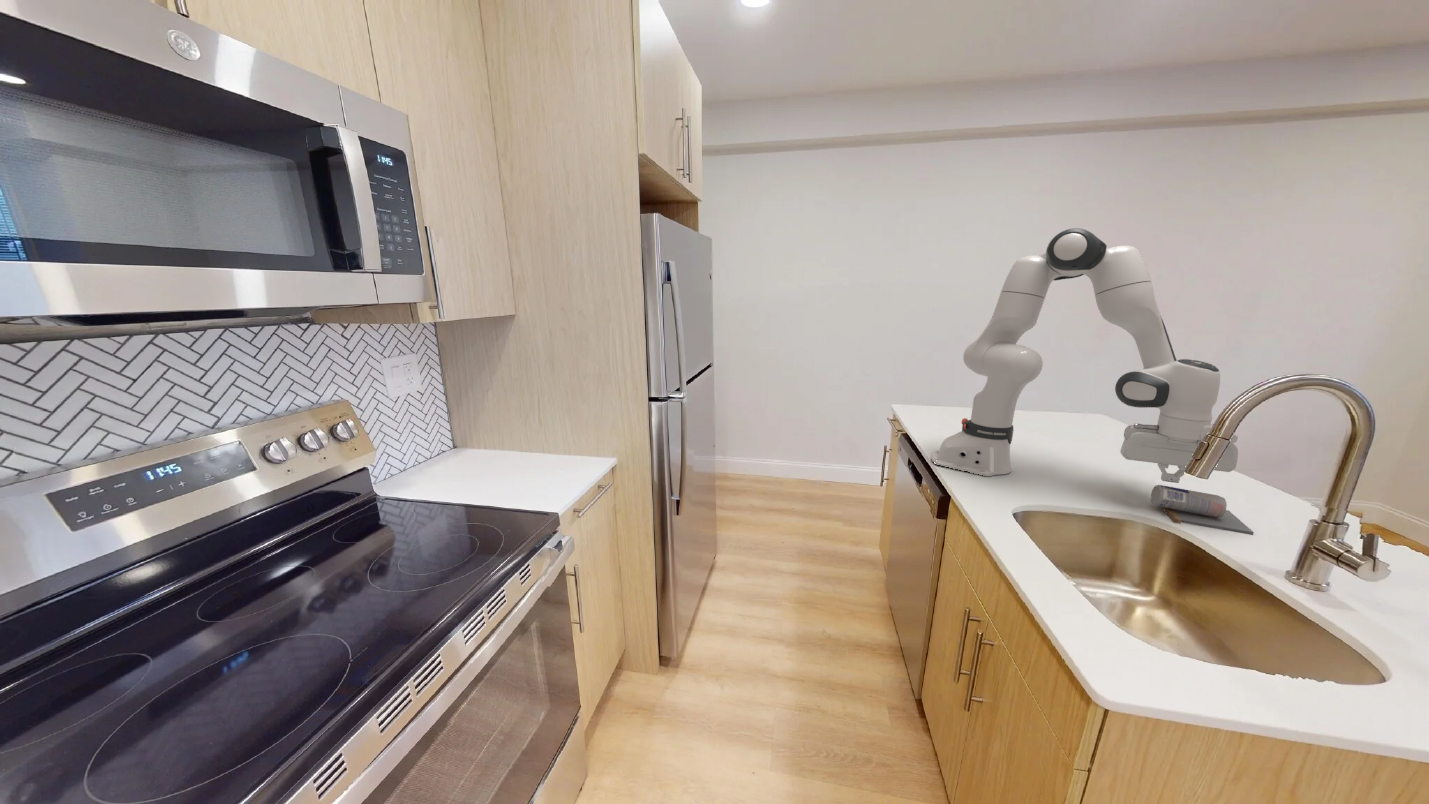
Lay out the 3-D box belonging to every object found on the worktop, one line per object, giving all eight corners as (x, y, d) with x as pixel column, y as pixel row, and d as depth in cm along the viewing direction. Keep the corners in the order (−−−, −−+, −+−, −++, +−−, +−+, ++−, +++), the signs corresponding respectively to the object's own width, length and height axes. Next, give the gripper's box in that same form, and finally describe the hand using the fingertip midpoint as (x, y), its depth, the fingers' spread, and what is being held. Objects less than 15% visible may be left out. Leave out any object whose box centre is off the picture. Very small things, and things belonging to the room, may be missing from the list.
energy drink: (1148, 493, 119) (1211, 504, 114) (1152, 509, 116) (1217, 522, 111) (1157, 480, 116) (1223, 491, 110) (1162, 496, 112) (1229, 509, 107)
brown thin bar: (1174, 522, 110) (1175, 518, 110) (1154, 499, 122) (1155, 496, 121) (1180, 523, 109) (1181, 520, 109) (1160, 500, 121) (1161, 497, 121)
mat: (1181, 522, 110) (1182, 520, 110) (1163, 502, 120) (1164, 500, 120) (1253, 534, 104) (1253, 532, 104) (1228, 512, 114) (1228, 510, 114)
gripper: (1130, 425, 113) (1118, 478, 116) (1248, 437, 103) (1232, 494, 107) (1122, 419, 118) (1112, 469, 122) (1234, 429, 109) (1220, 484, 112)
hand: (1169, 481), depth 114 cm, fingers closed
